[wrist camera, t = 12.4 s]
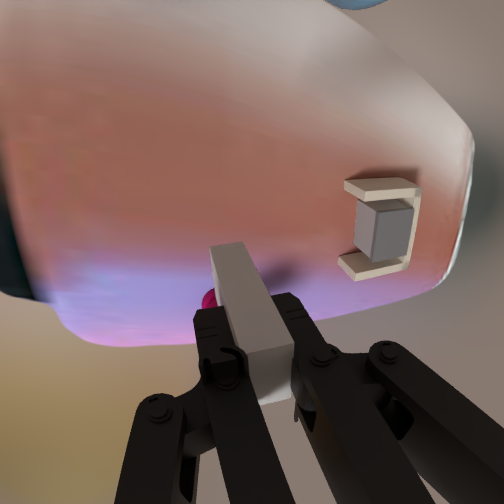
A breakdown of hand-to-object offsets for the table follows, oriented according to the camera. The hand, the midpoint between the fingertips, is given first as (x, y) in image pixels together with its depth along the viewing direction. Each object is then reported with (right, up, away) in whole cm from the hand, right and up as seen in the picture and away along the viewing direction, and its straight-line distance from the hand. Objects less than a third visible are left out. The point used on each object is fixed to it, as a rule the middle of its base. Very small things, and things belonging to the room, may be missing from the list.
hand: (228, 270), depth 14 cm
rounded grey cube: (+22, +6, +37) cm, 44 cm away
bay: (+21, +6, +37) cm, 43 cm away
